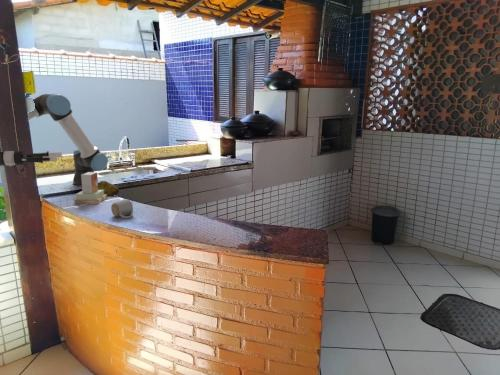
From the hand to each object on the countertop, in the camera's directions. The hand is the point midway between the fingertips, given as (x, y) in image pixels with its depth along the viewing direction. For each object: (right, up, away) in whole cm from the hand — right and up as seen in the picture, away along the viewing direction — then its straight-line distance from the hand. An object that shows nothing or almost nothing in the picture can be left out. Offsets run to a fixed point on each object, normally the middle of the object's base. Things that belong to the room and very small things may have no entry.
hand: (59, 156), depth 199 cm
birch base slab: (+15, -25, +6) cm, 30 cm away
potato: (+19, -21, +20) cm, 35 cm away
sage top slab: (+15, -22, +6) cm, 27 cm away
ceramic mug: (+43, -31, -20) cm, 56 cm away
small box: (+15, -20, +5) cm, 25 cm away
